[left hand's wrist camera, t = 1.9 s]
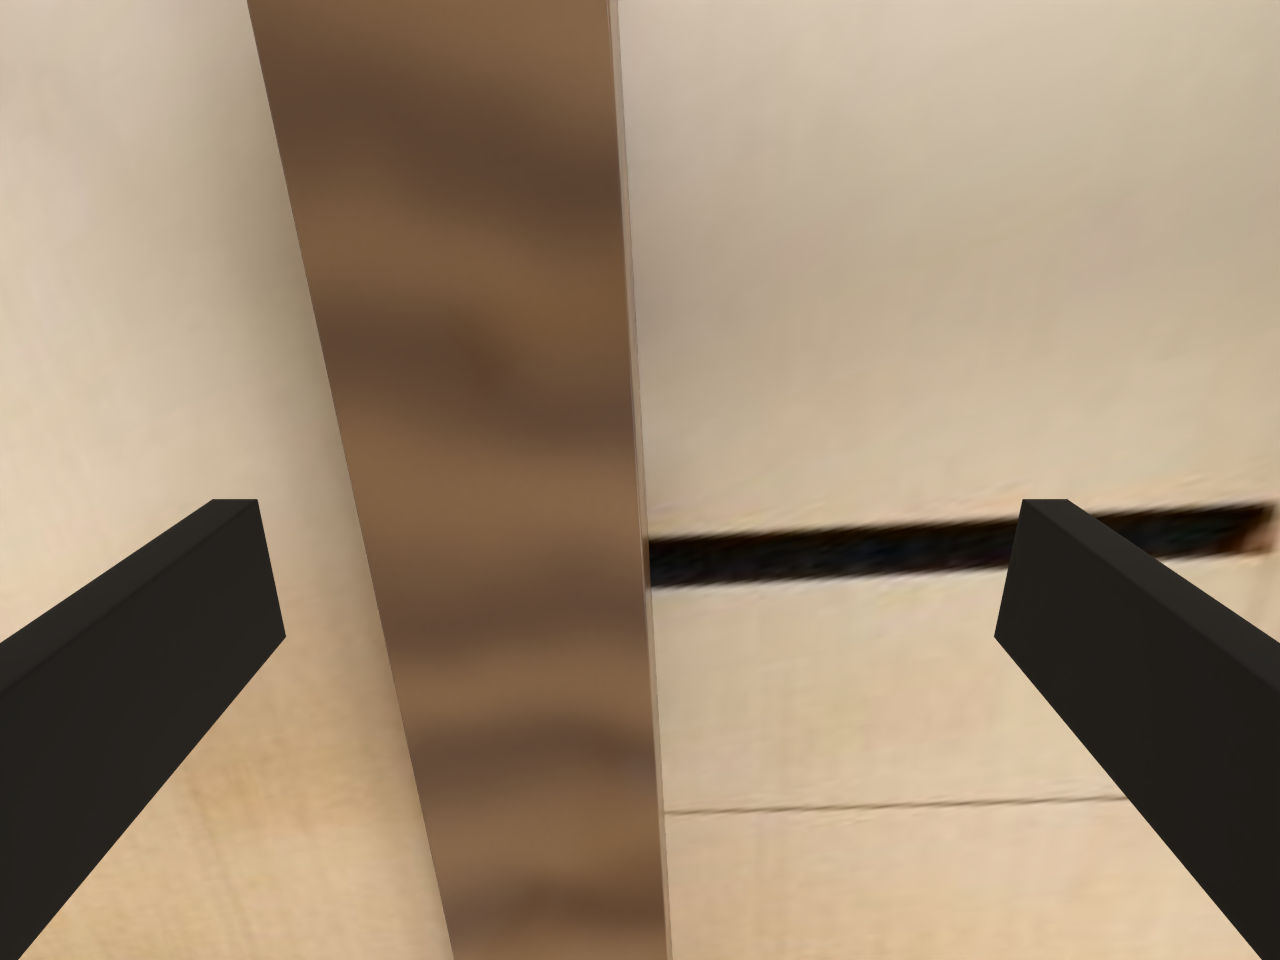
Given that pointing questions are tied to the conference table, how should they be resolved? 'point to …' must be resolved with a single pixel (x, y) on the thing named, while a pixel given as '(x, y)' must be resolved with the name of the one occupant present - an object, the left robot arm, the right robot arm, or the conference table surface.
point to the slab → (492, 438)
